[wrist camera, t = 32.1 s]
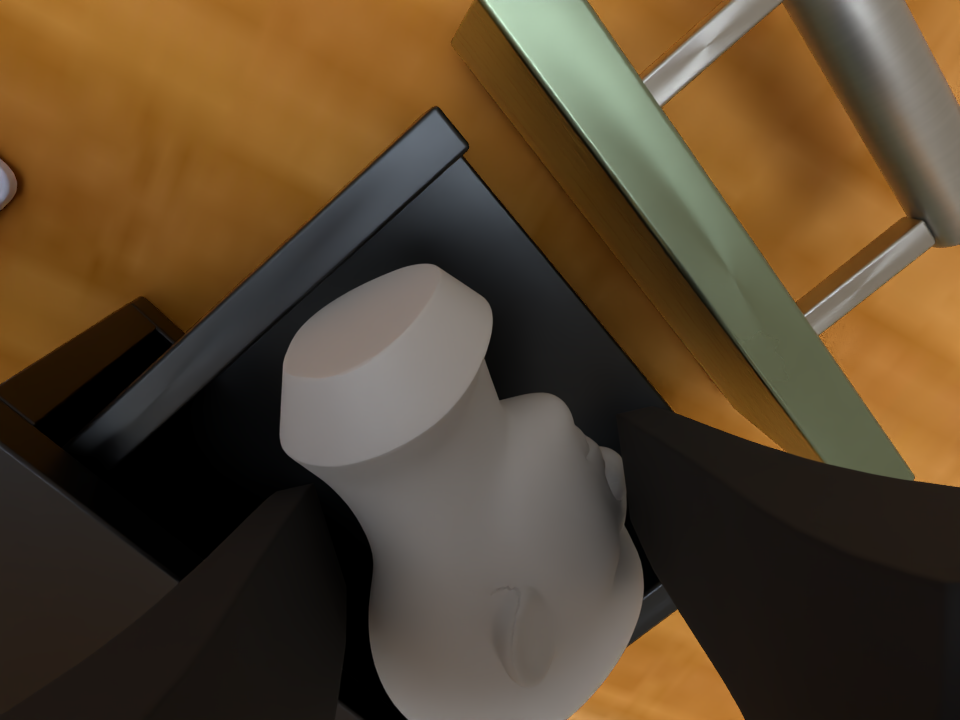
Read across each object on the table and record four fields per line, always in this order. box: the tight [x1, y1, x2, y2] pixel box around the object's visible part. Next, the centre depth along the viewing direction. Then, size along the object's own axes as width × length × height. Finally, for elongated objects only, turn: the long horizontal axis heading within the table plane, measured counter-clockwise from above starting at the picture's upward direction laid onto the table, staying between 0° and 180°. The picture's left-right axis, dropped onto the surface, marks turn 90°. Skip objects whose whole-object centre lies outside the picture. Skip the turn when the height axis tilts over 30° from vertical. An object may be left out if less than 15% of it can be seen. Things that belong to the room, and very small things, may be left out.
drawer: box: [61, 0, 960, 720], centre depth 14 cm, size 19×11×5 cm, turn 130°
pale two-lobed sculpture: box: [280, 264, 644, 720], centre depth 11 cm, size 4×8×5 cm
